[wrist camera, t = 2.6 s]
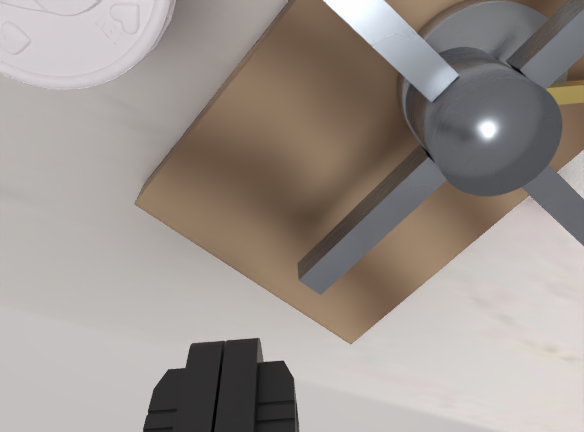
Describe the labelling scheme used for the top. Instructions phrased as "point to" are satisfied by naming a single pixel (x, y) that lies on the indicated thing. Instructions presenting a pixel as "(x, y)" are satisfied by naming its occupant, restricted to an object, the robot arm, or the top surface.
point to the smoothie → (78, 39)
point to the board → (322, 166)
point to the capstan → (465, 115)
